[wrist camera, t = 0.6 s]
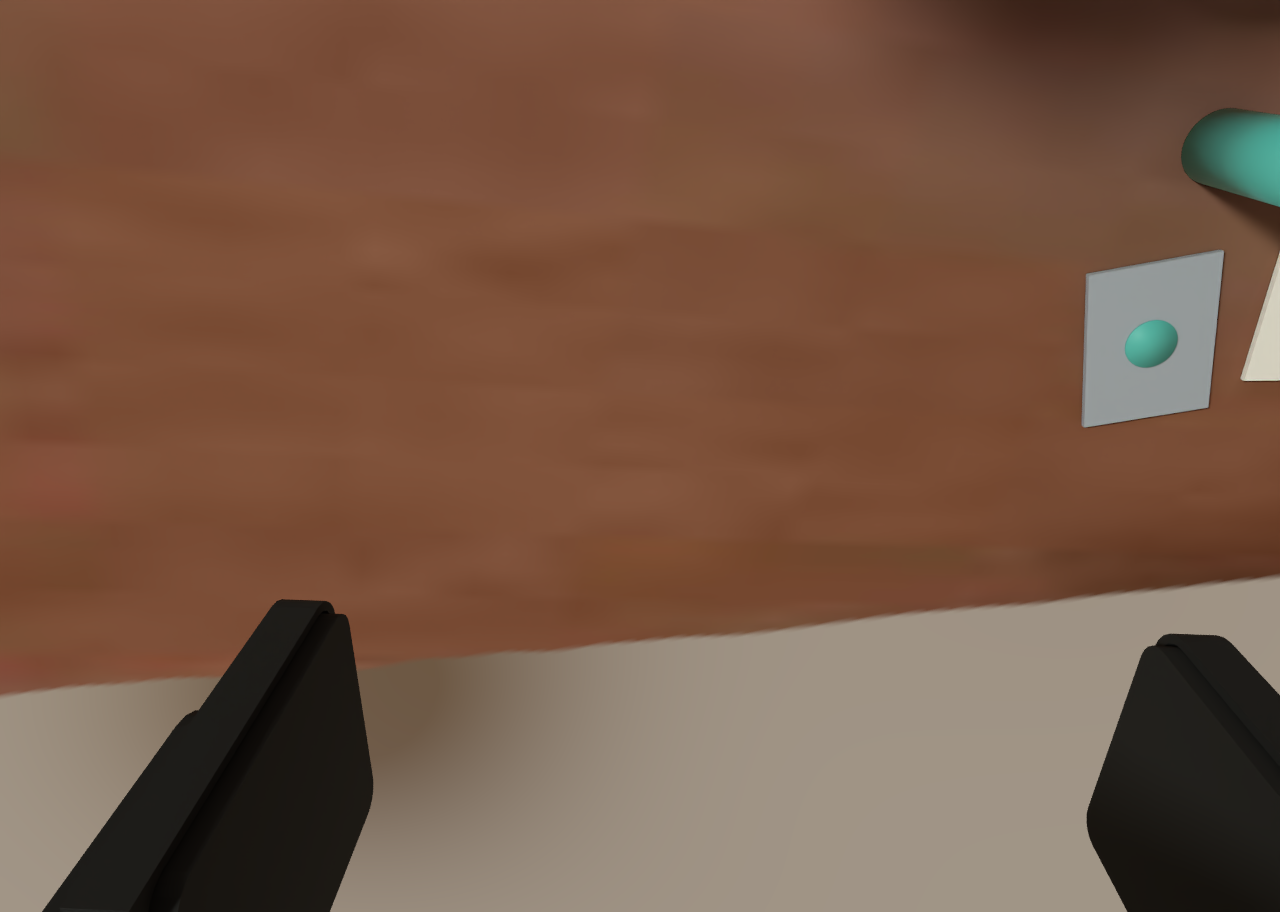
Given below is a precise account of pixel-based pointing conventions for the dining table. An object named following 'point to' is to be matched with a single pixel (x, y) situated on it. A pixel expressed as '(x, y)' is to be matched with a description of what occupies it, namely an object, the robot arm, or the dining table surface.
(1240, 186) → the marker
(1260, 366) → the paper
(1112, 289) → the card
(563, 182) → the dining table surface
